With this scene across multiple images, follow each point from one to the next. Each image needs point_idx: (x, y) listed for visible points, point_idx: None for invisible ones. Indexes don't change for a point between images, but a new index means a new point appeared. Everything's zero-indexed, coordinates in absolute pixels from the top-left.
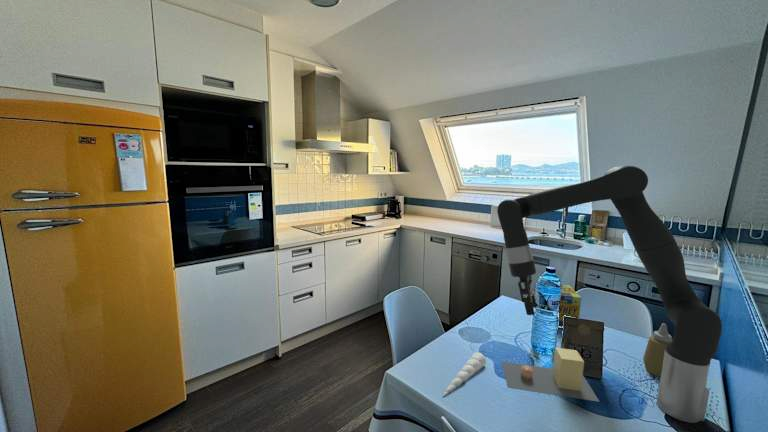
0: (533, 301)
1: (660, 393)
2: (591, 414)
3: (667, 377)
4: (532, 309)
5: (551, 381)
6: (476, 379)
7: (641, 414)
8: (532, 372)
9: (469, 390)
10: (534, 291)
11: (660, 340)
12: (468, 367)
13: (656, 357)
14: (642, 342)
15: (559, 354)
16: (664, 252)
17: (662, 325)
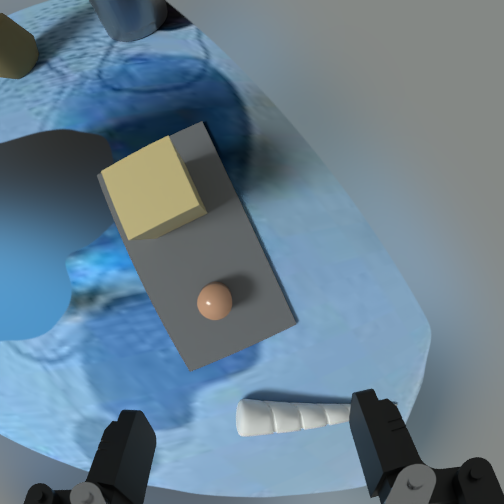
0: (132, 453)
1: (135, 20)
2: (261, 134)
3: None
4: (385, 420)
5: (190, 234)
6: (307, 390)
7: (189, 56)
8: (218, 286)
9: (353, 382)
10: (41, 485)
11: None
12: (313, 420)
13: (17, 42)
14: None
15: (171, 216)
16: None
17: None
